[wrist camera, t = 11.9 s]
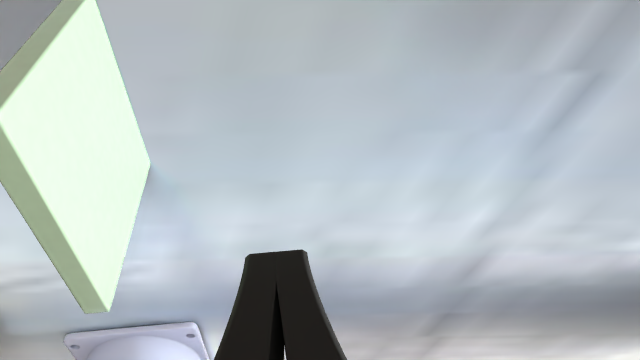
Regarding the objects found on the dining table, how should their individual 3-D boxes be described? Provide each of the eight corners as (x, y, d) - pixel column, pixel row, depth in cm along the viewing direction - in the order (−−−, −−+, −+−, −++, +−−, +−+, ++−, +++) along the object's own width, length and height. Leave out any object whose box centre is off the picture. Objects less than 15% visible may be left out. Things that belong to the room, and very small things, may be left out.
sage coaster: (151, 164, 20) (110, 312, 15) (133, 165, 20) (84, 314, 15) (93, -10, 15) (-3, 115, 10) (68, -9, 15) (-43, 117, 10)
